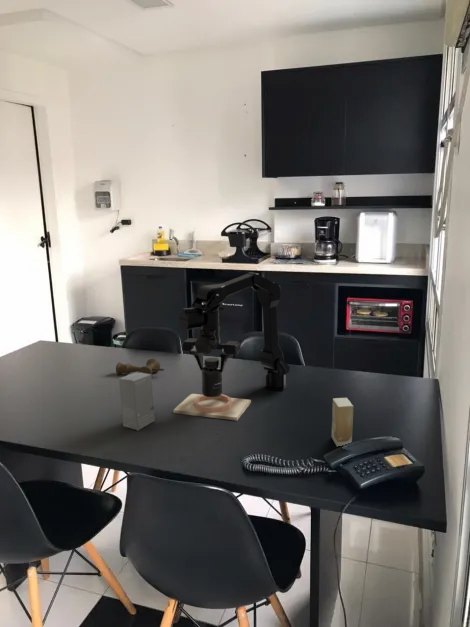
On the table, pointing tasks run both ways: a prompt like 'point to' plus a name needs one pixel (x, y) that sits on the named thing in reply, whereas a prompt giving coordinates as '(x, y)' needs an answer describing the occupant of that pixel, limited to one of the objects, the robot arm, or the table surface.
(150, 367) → the kendama
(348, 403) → the skincare box
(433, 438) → the table surface
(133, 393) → the skincare box
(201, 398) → the ring collar
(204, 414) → the birch board
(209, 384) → the supplement bottle
